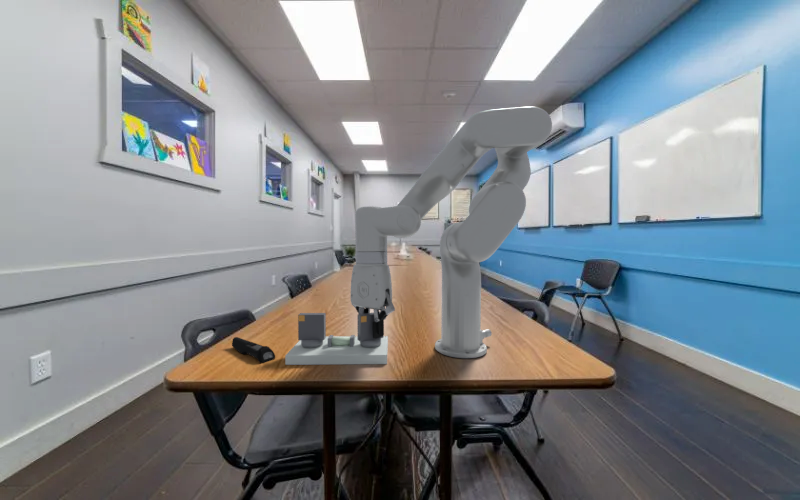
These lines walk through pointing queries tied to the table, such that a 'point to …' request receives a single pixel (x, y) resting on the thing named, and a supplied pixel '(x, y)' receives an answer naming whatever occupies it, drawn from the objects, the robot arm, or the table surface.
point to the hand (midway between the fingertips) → (372, 334)
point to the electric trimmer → (253, 349)
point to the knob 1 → (311, 329)
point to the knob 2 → (367, 330)
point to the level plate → (338, 352)
